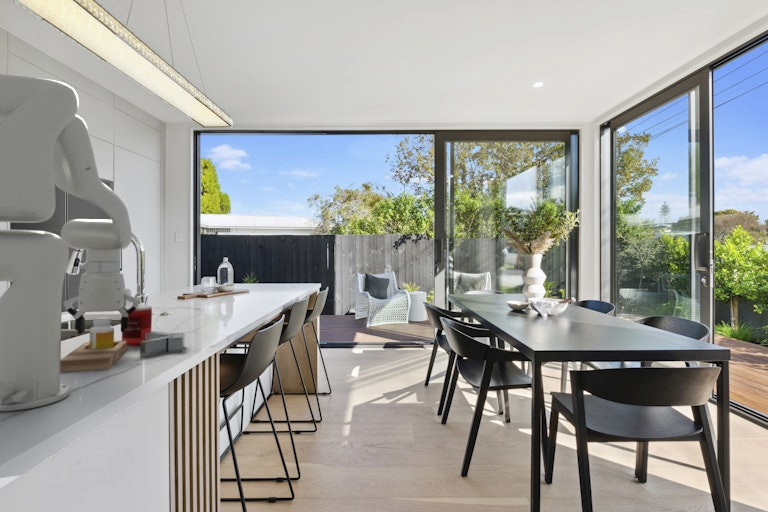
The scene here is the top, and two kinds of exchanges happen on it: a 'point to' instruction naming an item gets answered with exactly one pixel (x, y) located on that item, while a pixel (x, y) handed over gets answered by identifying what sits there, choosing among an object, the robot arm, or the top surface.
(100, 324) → the supplement bottle
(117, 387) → the top surface
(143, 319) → the canned food
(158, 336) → the v block
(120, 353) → the wooden board with cutout
